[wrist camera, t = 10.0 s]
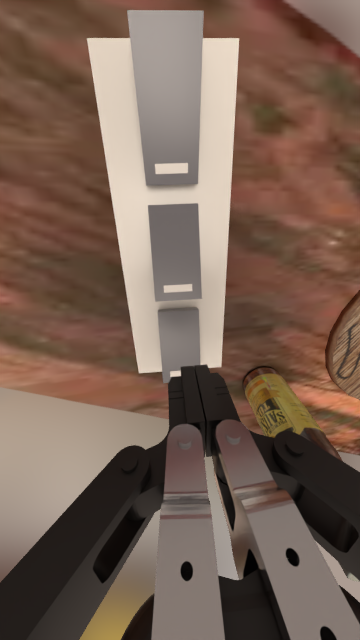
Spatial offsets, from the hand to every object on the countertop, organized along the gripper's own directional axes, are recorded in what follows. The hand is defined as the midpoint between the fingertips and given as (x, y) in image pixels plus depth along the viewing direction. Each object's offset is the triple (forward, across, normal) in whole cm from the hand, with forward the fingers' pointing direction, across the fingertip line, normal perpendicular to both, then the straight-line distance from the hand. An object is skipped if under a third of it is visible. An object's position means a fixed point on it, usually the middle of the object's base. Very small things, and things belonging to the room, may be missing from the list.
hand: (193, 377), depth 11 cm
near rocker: (+10, 0, -15) cm, 18 cm away
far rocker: (+10, 0, +4) cm, 11 cm away
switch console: (+16, 0, -6) cm, 17 cm away
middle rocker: (+10, 0, -5) cm, 11 cm away
